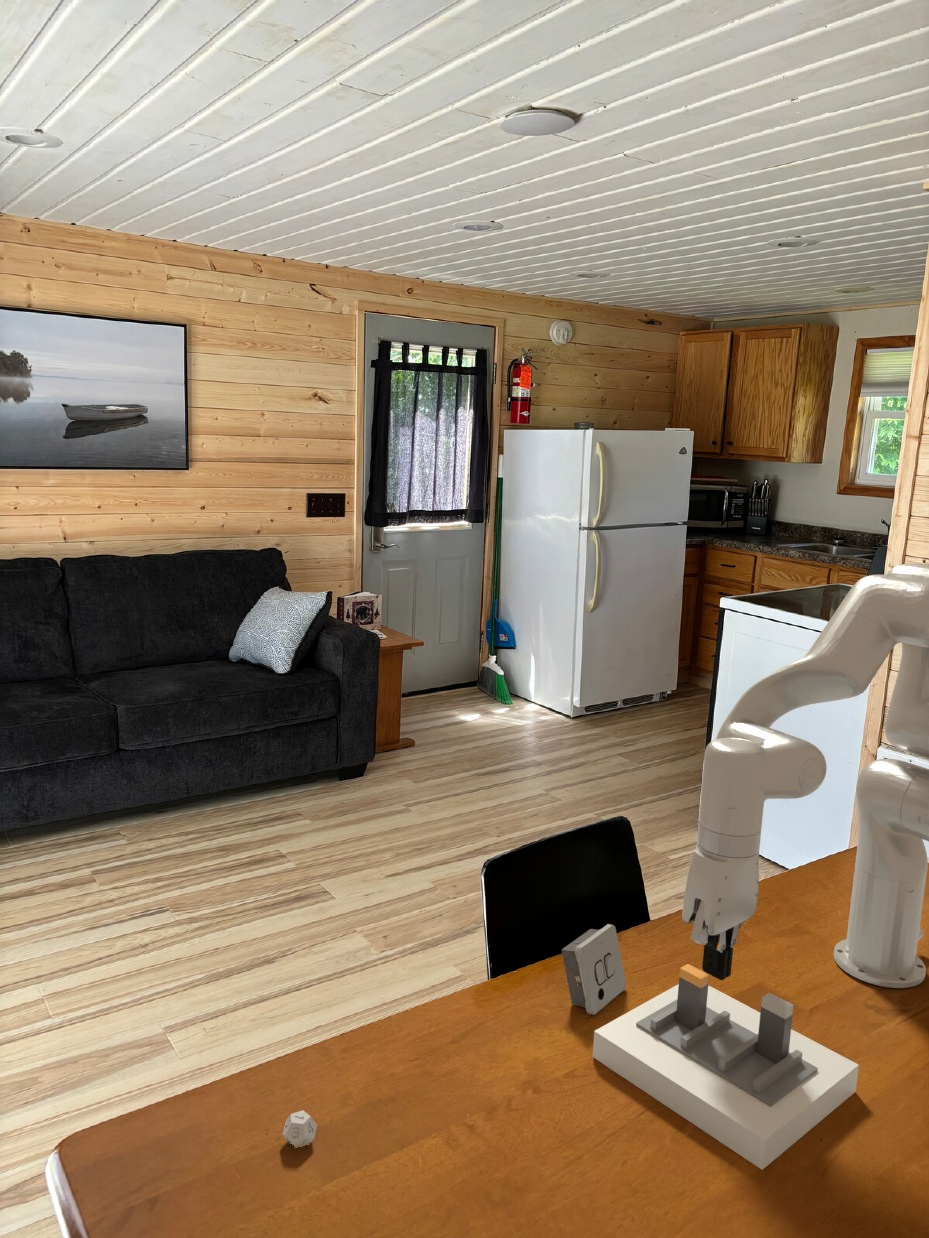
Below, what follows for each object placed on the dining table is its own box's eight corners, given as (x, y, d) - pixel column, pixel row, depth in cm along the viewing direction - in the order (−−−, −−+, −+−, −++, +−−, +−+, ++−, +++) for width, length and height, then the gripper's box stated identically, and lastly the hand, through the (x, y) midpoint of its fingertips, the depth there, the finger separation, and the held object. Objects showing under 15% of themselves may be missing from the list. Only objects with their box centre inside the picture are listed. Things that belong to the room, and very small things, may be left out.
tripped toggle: (683, 1015, 122) (687, 963, 121) (704, 1027, 120) (709, 974, 118) (675, 1020, 121) (680, 967, 120) (696, 1032, 119) (701, 979, 117)
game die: (295, 1125, 106) (295, 1101, 106) (323, 1137, 105) (323, 1112, 104) (276, 1146, 103) (275, 1121, 103) (304, 1158, 102) (304, 1133, 101)
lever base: (689, 1000, 133) (696, 924, 131) (855, 1091, 115) (865, 1005, 113) (592, 1056, 120) (597, 973, 118) (762, 1169, 102) (772, 1074, 100)
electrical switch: (592, 1018, 128) (590, 952, 127) (559, 1007, 131) (557, 942, 130) (627, 989, 135) (625, 926, 134) (595, 979, 138) (593, 917, 137)
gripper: (737, 815, 127) (725, 943, 130) (666, 842, 117) (655, 980, 120) (788, 834, 121) (774, 967, 124) (718, 864, 111) (705, 1008, 115)
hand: (716, 973), depth 122 cm, fingers closed
